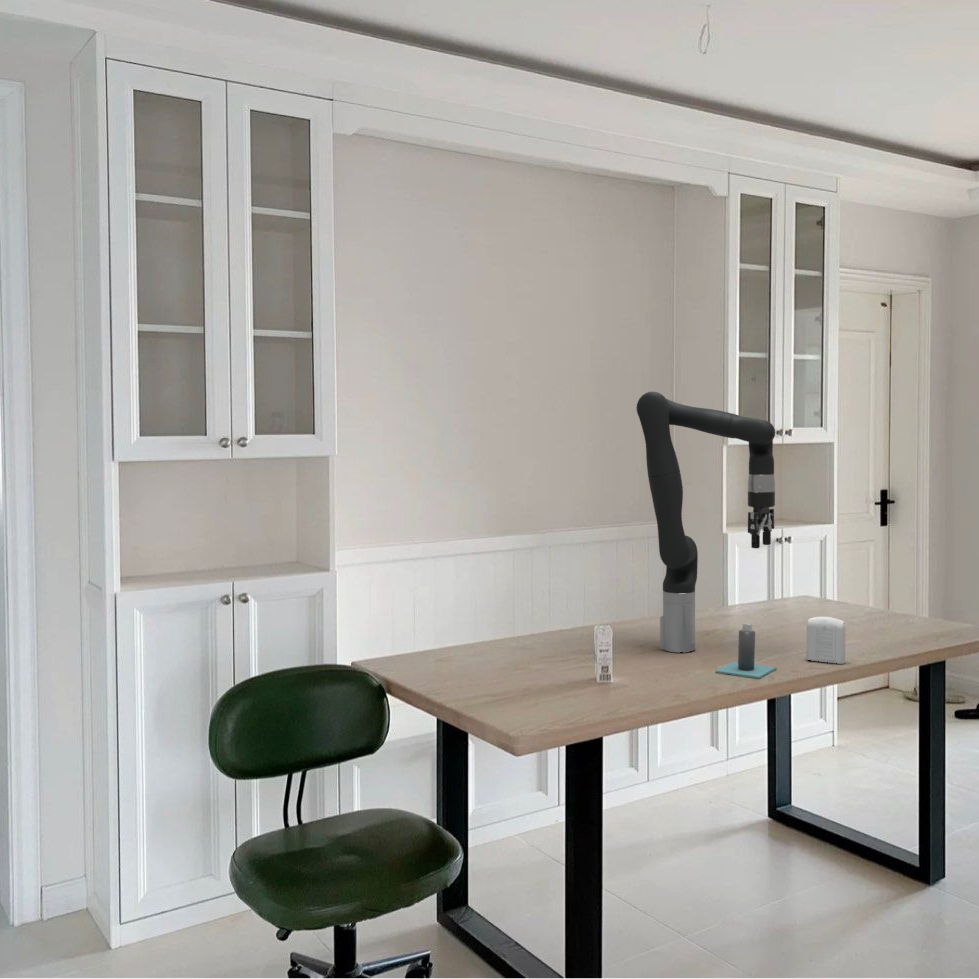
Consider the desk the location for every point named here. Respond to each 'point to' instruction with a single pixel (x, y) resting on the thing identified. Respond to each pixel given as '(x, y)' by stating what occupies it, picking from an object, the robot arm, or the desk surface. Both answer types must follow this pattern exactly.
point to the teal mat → (756, 673)
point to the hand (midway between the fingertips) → (761, 546)
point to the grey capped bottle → (746, 648)
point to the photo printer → (826, 640)
